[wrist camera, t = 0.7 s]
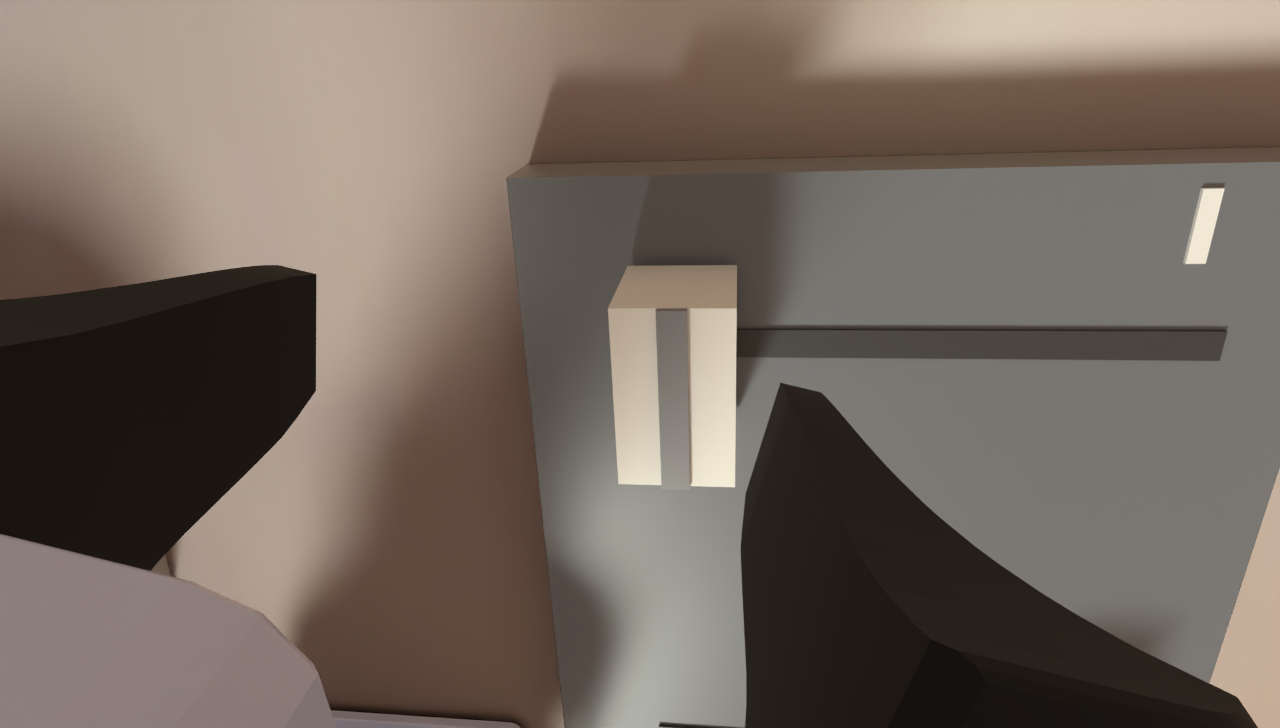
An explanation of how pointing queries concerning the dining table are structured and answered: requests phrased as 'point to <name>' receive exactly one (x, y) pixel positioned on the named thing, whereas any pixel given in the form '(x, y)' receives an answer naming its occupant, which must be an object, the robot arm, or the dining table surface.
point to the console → (917, 386)
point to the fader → (675, 375)
